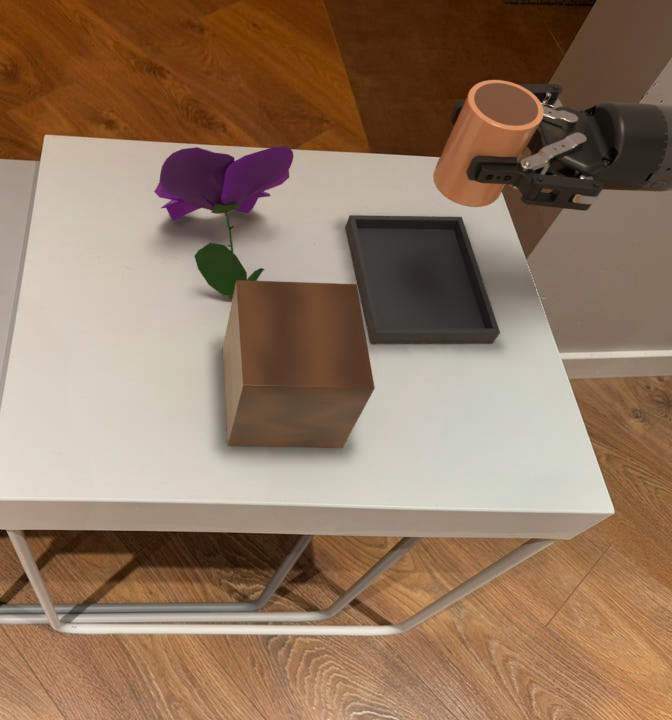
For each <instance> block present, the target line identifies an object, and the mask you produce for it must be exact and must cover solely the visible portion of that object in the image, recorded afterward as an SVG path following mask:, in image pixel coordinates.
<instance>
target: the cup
mask: <svg viewBox="0 0 672 720" xmlns="http://www.w3.org/2000/svg"><path fill="white" fill-rule="evenodd" d="M543 115H544V111H543V106H542V104H541V102H540V101H539V99H538V98H537V97H536V96H535V95H534V94H533V93H531V92H530V91H529V90H527V89H526V88H524V87H522V86H520V85H517V83H514V82H512V81H507V80H503V79H487V80H483V81H480V82H478V83H475V84H474V85H473V86H472V87H471V89H470V90H469V91H468V93H467V96H466V98H465V102H464V105H463V107H462V109H461V111H460V113H459V116H458V118H457V120H456V122H455V125H453V126H452V129H451V132H450V134H449V136H448V138H447V140H446V142H445V145H444V147H443V149H442V152H441V154H440V157H439V158H438V160H437V163H436V165H435V167H434V169H433V173H432V179H433V183H434V185H435V188H436V189H437V190H438V192H439V193H440V194H442V196H444V197H445V198H446V199H448V200H449V201H451V202H453V203H454V204H457V205H460V206H463V207H469V208H482V207H486V206H490V205H491V204H493V203H495V202H496V201H497V200H498V199H499V197H500V196H501V194H502V192H503V190H504V189H505V186H506V185H507V184H494V183H493V184H489V183H480V182H476V181H471V180H469V179H468V176H467V173H466V171H467V169H468V167H469V165H470V163H471V161H472V159H473V158H474V157H476V156H497V157H516V158H517V161H518V162H519V163H520V161H521V158H522V156H523V155H524V153H525V151H526V149H527V148H528V147H527V146H528V144H529V142H530V140H531V139H532V137H533V135H534V133H535V131H536V130H537V128H538V126H539V124H540V123H541V121H542V119H543Z"/></svg>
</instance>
